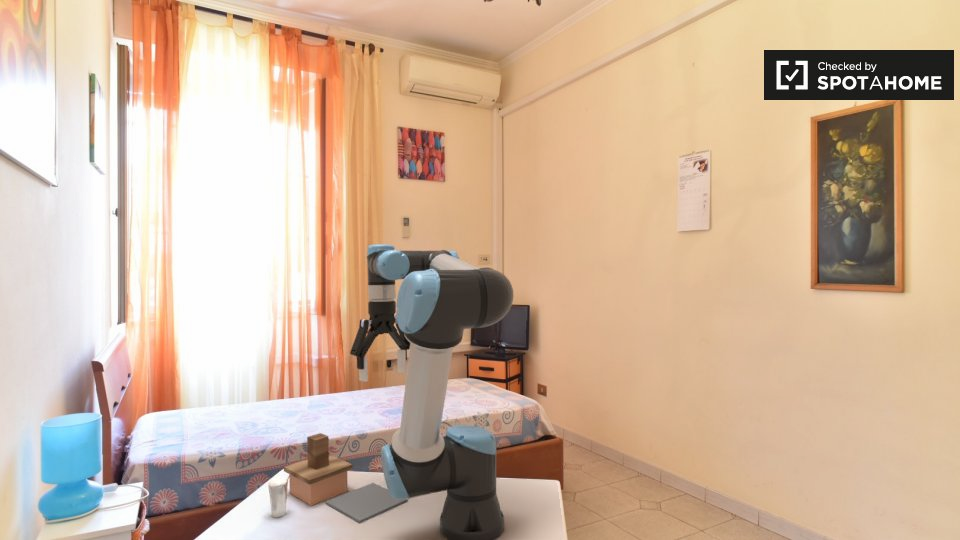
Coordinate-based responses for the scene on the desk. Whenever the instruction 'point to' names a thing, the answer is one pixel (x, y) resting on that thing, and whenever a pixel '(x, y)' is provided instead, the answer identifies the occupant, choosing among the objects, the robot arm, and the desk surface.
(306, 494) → the open peach box
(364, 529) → the desk surface
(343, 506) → the mat
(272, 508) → the milkshake
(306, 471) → the lid
